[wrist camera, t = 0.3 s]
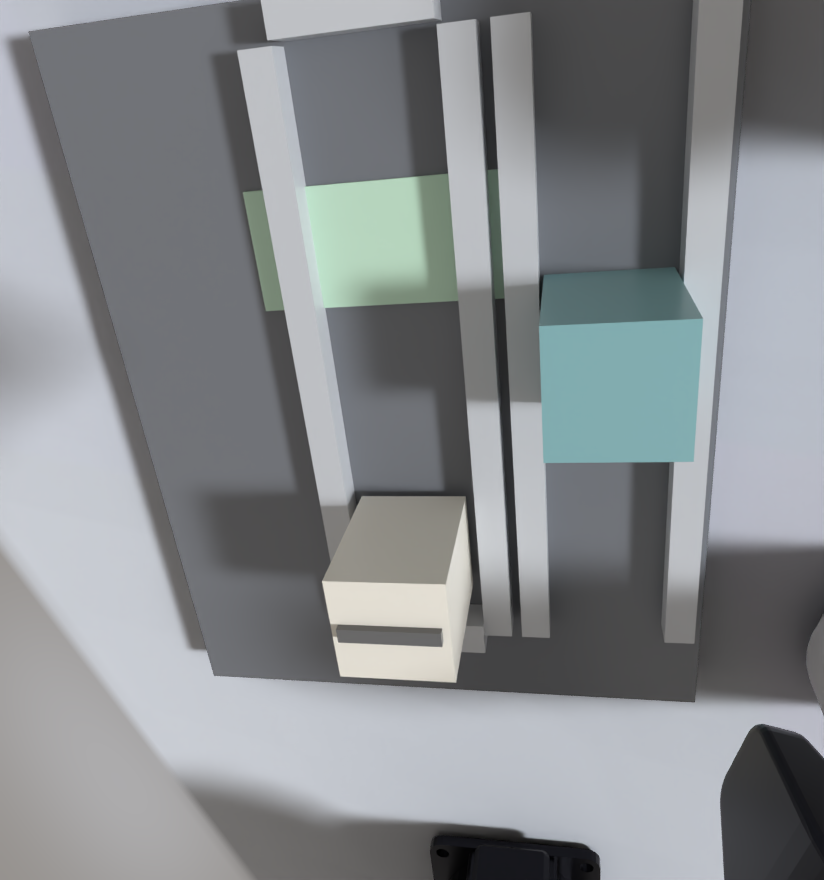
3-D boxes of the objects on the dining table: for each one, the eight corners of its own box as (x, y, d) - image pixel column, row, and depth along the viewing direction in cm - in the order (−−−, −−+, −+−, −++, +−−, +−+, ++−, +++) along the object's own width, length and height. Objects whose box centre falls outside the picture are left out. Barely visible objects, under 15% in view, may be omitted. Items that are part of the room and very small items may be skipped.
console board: (688, 674, 24) (718, 818, 19) (227, 652, 27) (159, 770, 23) (743, -66, 15) (820, -122, 11) (58, 33, 19) (-106, 23, 14)
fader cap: (473, 584, 22) (455, 688, 18) (374, 581, 23) (338, 681, 19) (465, 496, 21) (444, 589, 17) (361, 496, 21) (319, 586, 18)
